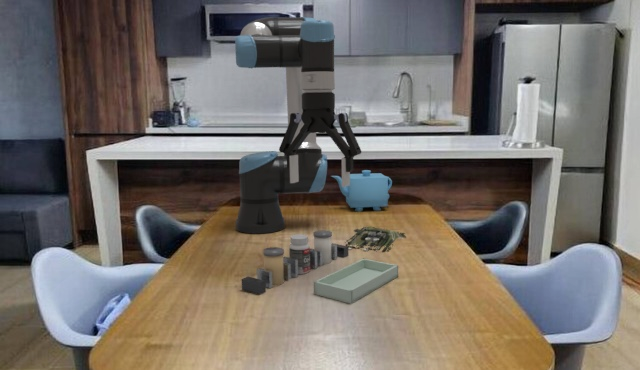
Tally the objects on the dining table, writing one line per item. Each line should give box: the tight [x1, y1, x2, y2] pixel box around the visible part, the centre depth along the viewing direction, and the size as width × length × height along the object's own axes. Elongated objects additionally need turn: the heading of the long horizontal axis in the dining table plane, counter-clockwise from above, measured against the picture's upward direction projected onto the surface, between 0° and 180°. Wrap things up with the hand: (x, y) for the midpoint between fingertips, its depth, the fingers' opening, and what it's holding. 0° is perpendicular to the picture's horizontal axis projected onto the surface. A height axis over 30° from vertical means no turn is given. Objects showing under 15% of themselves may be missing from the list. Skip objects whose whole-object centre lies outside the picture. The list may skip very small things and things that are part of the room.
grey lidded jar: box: [312, 229, 333, 265], centre depth 131 cm, size 4×4×7 cm
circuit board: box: [340, 226, 407, 253], centre depth 151 cm, size 25×18×4 cm
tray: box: [313, 258, 399, 304], centre depth 115 cm, size 9×19×3 cm, turn 143°
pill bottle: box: [288, 233, 311, 275], centre depth 124 cm, size 5×5×8 cm
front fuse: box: [262, 246, 285, 287], centre depth 117 cm, size 4×4×7 cm
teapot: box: [330, 169, 393, 213], centre depth 190 cm, size 22×11×14 cm, turn 96°
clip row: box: [241, 242, 349, 296], centre depth 125 cm, size 5×33×4 cm, turn 143°
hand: (319, 184), depth 124 cm, fingers open, 13 cm apart
